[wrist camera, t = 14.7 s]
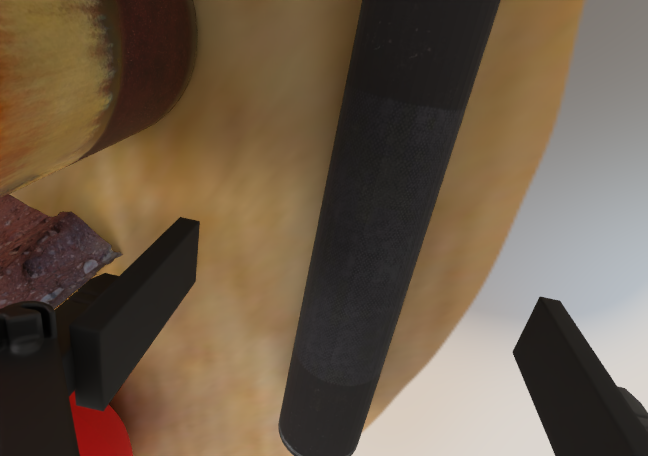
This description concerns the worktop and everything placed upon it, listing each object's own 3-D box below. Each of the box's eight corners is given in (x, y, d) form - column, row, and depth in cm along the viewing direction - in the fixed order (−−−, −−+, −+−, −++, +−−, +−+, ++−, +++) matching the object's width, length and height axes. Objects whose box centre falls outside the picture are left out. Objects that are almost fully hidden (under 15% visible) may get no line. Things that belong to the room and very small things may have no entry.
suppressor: (551, -107, 13) (508, -72, 17) (384, -139, 13) (385, -96, 17) (356, 476, 24) (360, 406, 29) (269, 454, 25) (287, 388, 29)
